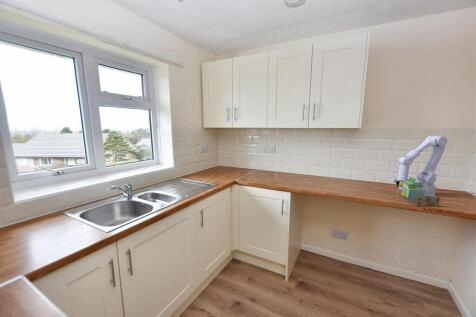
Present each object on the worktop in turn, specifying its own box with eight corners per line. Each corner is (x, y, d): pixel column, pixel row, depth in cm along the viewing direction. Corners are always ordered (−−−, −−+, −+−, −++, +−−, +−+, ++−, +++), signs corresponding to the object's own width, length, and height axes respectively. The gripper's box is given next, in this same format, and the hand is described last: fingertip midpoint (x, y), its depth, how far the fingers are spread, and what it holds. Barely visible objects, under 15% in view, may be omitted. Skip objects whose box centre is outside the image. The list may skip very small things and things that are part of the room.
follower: (421, 199, 142) (423, 188, 140) (423, 200, 140) (425, 189, 139) (405, 199, 142) (407, 188, 140) (407, 200, 140) (409, 189, 139)
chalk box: (396, 194, 151) (399, 175, 148) (409, 194, 151) (412, 175, 148) (406, 199, 142) (410, 179, 139) (419, 200, 142) (423, 179, 139)
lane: (413, 195, 150) (414, 188, 149) (438, 206, 131) (440, 197, 130) (394, 195, 150) (395, 188, 149) (416, 206, 131) (418, 197, 130)
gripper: (408, 172, 155) (405, 189, 157) (389, 172, 155) (387, 189, 157) (416, 174, 148) (413, 192, 150) (396, 174, 148) (393, 192, 150)
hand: (400, 191), depth 153 cm, fingers closed, pressing on chalk box
